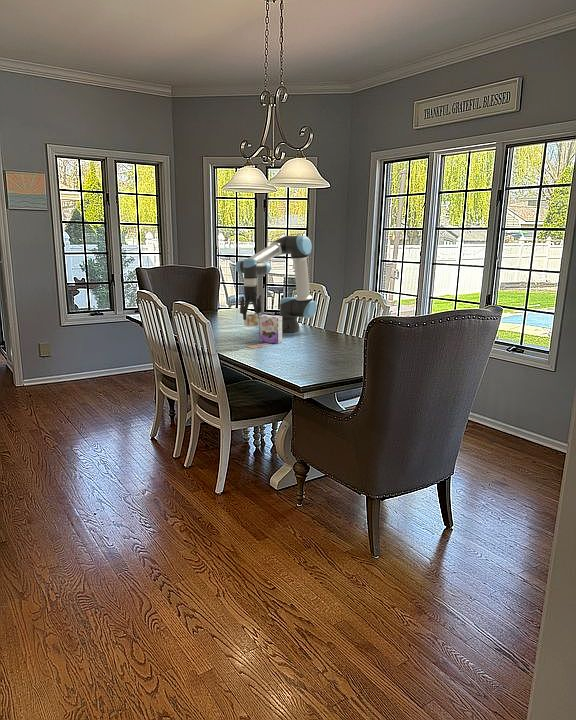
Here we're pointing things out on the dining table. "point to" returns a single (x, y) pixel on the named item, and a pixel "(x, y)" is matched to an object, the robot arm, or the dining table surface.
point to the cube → (252, 320)
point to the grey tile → (264, 344)
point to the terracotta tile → (253, 346)
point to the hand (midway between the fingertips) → (251, 324)
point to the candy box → (270, 329)
